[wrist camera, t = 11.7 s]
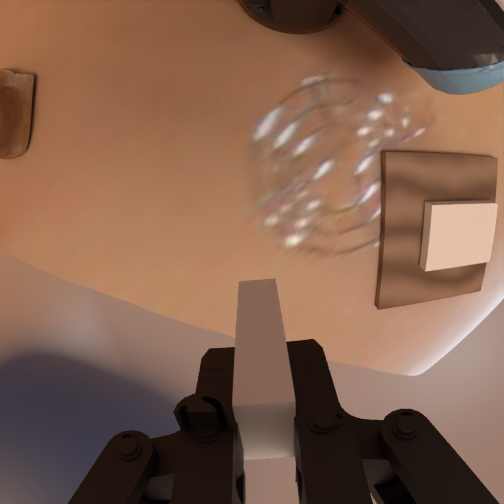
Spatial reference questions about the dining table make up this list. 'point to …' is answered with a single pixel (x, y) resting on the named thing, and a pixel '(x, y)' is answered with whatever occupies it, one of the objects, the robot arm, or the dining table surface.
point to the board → (412, 221)
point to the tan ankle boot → (15, 112)
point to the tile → (457, 233)
